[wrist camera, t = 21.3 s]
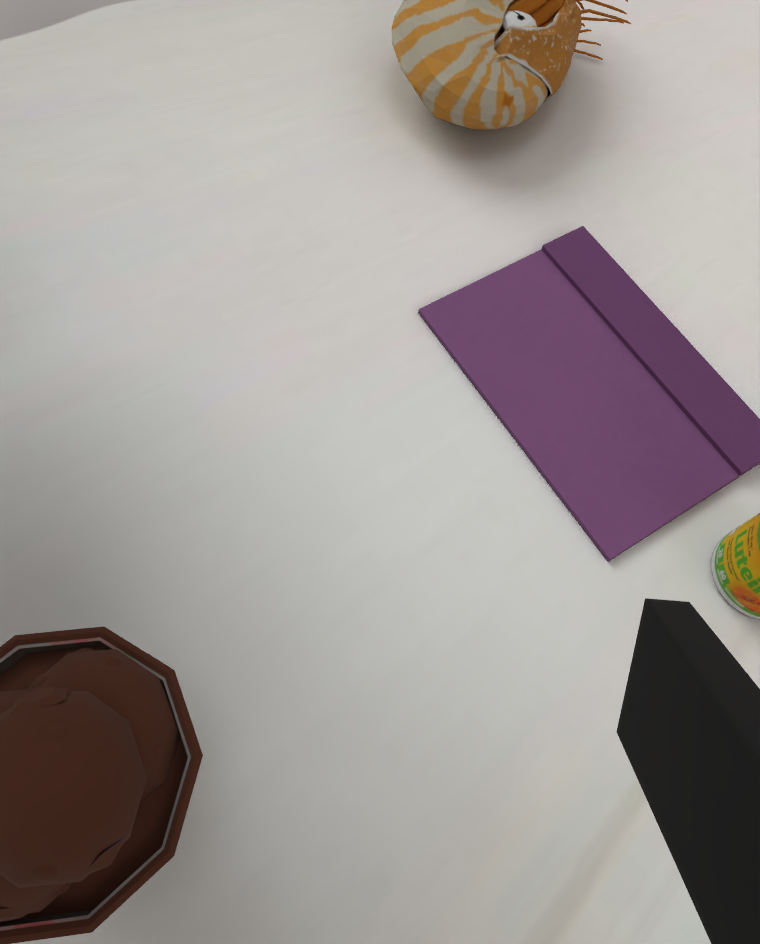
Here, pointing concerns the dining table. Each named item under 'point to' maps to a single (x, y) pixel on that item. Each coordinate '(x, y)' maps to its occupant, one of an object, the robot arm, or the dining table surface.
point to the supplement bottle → (740, 567)
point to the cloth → (598, 389)
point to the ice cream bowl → (86, 778)
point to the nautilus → (488, 55)
